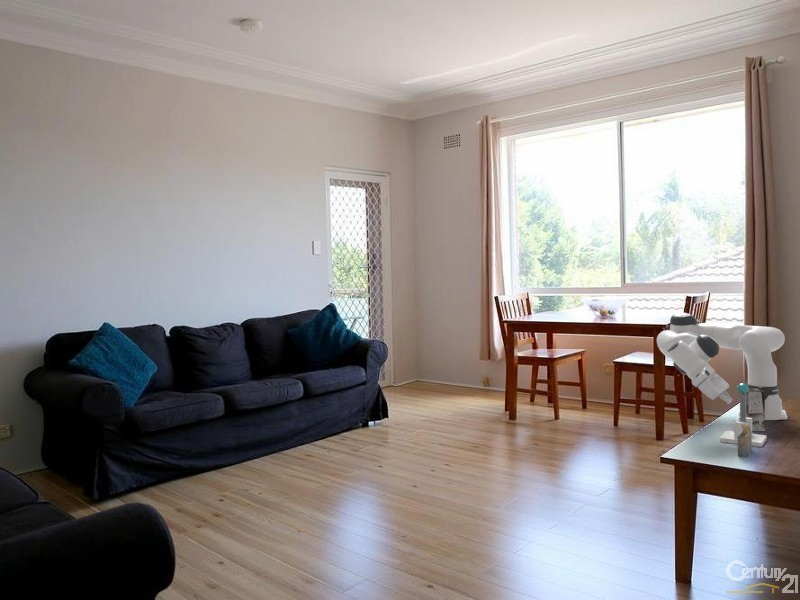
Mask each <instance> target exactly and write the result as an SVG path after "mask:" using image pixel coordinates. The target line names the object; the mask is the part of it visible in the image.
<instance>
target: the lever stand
mask: <svg viewBox="0 0 800 600" xmlns="http://www.w3.org/2000/svg"><path fill="white" fill-rule="evenodd" d="M743 424H744V425H746V426H748V425H749V427H750V430H752V418H747V417H746V422H740V416H738V421H737V420H735V421H733V431H730V430H726V431H725V432H723V434H721V436H719V442H720V441H721V443H726V442H728V443H729V444H734V445H736V444H737V445H738V436H739V434H740V433H741V432H742V430H743V428H742V426H741V425H743ZM766 439H767V440H768V438H767V435H766V434H765V435H764V434H757V433H756V434H755V433H752V447H758V448H759V447H760V448H762V447H763V445H764V444H765V443H764V442H766V441H767V440H766Z"/></svg>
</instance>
